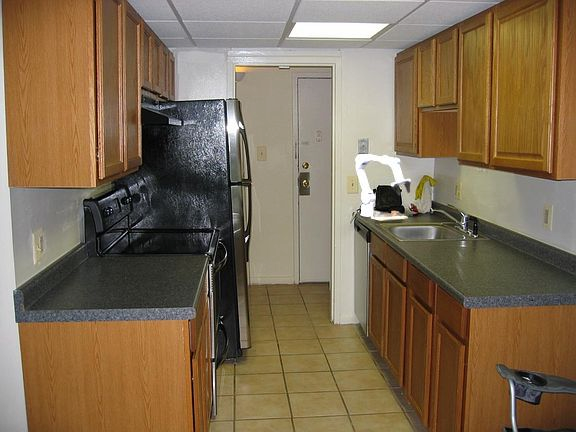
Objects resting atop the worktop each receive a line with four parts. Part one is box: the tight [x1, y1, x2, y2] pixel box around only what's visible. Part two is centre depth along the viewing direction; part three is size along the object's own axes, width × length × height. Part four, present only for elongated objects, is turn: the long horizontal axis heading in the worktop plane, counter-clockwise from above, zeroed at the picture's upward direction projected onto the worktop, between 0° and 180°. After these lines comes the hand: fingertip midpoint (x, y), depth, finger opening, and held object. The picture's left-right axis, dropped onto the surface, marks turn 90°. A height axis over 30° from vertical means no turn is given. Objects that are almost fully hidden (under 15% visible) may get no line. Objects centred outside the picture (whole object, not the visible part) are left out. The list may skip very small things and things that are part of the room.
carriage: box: [391, 210, 403, 215], centre depth 439 cm, size 10×3×3 cm, turn 23°
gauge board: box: [370, 210, 409, 222], centre depth 437 cm, size 13×22×5 cm, turn 113°
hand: (404, 193), depth 432 cm, fingers open, 7 cm apart
